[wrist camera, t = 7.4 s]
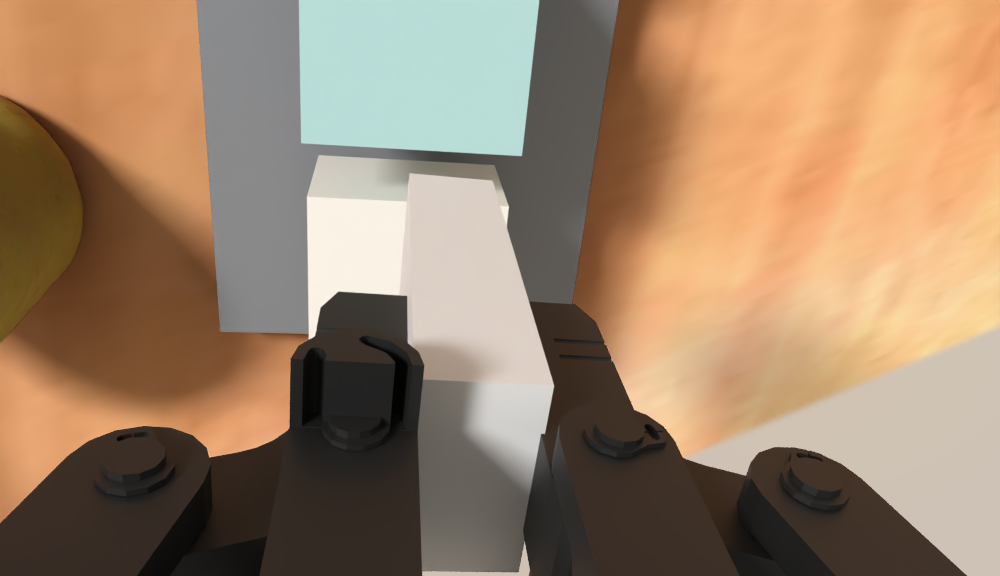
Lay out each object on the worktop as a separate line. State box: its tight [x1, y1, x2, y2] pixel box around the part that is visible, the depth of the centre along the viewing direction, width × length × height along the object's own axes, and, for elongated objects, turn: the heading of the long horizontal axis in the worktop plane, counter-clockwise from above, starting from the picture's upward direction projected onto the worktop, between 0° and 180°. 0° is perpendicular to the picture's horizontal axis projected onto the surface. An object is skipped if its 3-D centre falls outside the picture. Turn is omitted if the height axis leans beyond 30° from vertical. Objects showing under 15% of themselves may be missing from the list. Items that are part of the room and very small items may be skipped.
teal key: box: [299, 0, 539, 156], centre depth 22 cm, size 6×6×4 cm
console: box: [197, 0, 619, 334], centre depth 26 cm, size 14×26×5 cm, turn 174°
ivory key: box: [307, 155, 509, 339], centre depth 27 cm, size 6×6×4 cm
